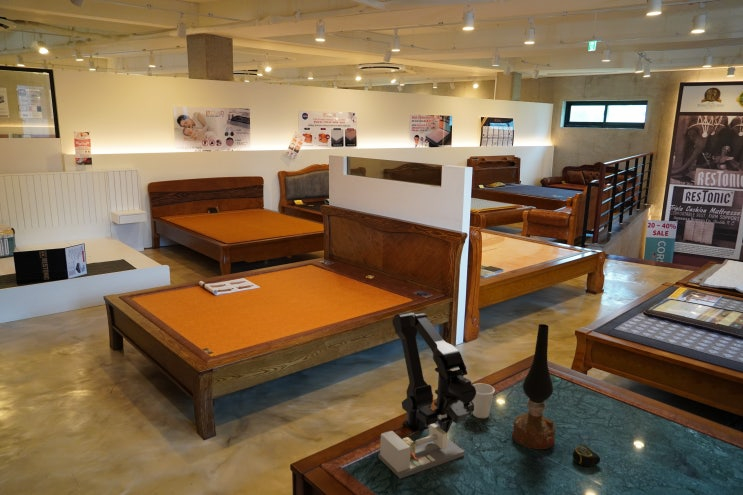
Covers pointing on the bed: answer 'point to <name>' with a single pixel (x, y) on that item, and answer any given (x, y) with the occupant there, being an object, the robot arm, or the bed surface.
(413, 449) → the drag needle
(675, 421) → the bed surface
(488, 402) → the dixie cup
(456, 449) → the base
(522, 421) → the oil lamp
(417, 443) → the plunger
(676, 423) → the bed surface
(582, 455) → the tape measure
